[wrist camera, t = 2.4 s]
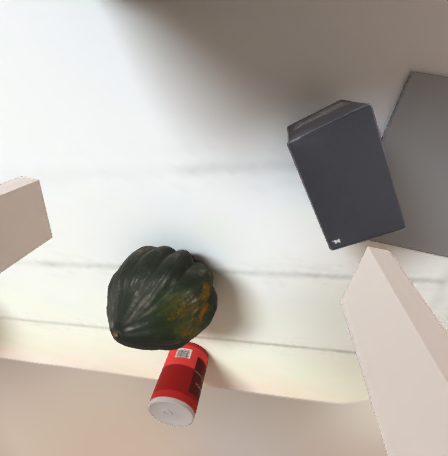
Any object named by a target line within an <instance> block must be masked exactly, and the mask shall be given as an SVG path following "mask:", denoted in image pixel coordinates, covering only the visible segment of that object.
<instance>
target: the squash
mask: <svg viewBox="0 0 448 456" xmlns="http://www.w3.org/2000/svg"><path fill="white" fill-rule="evenodd" d="M107 299H108V300H107V317H108V322H109V327H110V331H111V334H112V336H113V338H114V339H115V340H116V341H117V342H118V343H120V344H122V345H125V346H127V347H131V348H136V349H141V350H176V349H179V348H182V347H183V346H185V345H186V344H187V343H188V342H189V341H190V340H191V339H193V338H194V337H196V336H197V335H198V334H199V333H201V332H202V331H203V330H204V329H205V328H206V327H207V326H208V325H209V324H210V322H211V320H212V319H213V317H214V314H215V312H216V309H217V294H216V291H215V289H214V287H213V273H212V271H211V270H210V269H209V268H208V267H207V266H206V265H205V264H202V263H199V262H195V263H194V260H193V257H192V255H191V254H190V253H189V252H188V251H185V250H180V251H175V250H174V249H172V248H171V247H168V246H161V247H153V246H144V247H141V248H139V249H137V250H136V251H134V252H133V253H132V254H131V255H130V256H129V257H128V258H127V259H126V260H125V261H124V262H123V264H122V265H121V266H120V268H119V269H118V271H117V272H116V273H115V274H114V275H113V277H112V279H111V281H110V283H109V286H108V296H107Z"/></svg>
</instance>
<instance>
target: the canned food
mask: <svg viewBox="0 0 448 456" xmlns="http://www.w3.org/2000/svg"><path fill="white" fill-rule="evenodd" d="M207 363H208V355H207V353H206V351H205V350H204V349H203V348H202V347H201V346H199V345H197V344H194V343H191V342H188V343H187V344H186V345H185V346H183V347H182V348H179V349H176V350H170V352H169V354H168V357H167V359H166V362H165V364H164V367H163V369H162V372H161V374H160V377H159V379H158V382H157V384H156V387H155V389H154V392H153V395H152V397H151V400H150V402H149V406H148V411H149V412H150V414H151V415H152V416H153V417H154V418H155V419H157V420H158V421H160V422H162V423H165V424H168V425H172V426H187V425H190V424H191V423H192V422H193V420H194V417H195V413H196V410H197V406H198V401H199V397H200V393H201V389H202V384H203V380H204V376H205V372H206V368H207Z"/></svg>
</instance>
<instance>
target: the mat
mask: <svg viewBox="0 0 448 456" xmlns="http://www.w3.org/2000/svg"><path fill="white" fill-rule="evenodd" d="M381 140H382V144H383V147H384V151H385V155H386V158H387V162H388V165H389V169H390V172H391V176H392V179H393V183H394V186H395V190H396V193H397V197H398V200H399V204H400V207H401V211H402V214H403V218H404V221H405V225H406V228H405V229H403V230H400V231H397V232H393V233H390V234H387V235H383V236H380V237H377V238H373V239H370V240H371V241H375V242H380V243H385V244H389V245H394V246H399V247H404V248H408V249H413V250H418V251H422V252H427V253H432V254H437V255H441V256H446V257H448V77H444V76H438V75H432V74H426V73H420V72H411V74H410V76H409V78H408V80H407V83H406V85H405V87H404V90H403V92H402V94H401V96H400V99H399V101H398V103H397V105H396V108H395V110H394V112H393V114H392V117H391V119H390V121H389V123H388V126H387V128H386V130H385V132H384V135H383V137H382V139H381Z"/></svg>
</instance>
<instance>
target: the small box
mask: <svg viewBox="0 0 448 456" xmlns="http://www.w3.org/2000/svg"><path fill="white" fill-rule="evenodd" d="M287 131H288V142H287V146H288V148H289V151H290V153H291V156H292V158H293V161H294V163H295V166H296V168H297V170H298V173H299V175H300V178H301V180H302V183H303V185H304V187H305V190H306V192H307V195H308V197H309V200H310V202H311V205H312V207H313V209H314V212H315V214H316V217H317V219H318V222H319V224H320V227H321V229H322V232H323V234H324V236H325V239H326V241H327V243H328V246H329V248H330V250H336V249H339V248H343V247H346V246H349V245H353V244H356V243H359V242H363V241H366V240H370V239H373V238H377V237H380V236H383V235H387V234H390V233H393V232H397V231H400V230H403V229H405V228H406V225H405V221H404V218H403V214H402V211H401V207H400V204H399V200H398V197H397V193H396V190H395V186H394V183H393V179H392V176H391V172H390V169H389V165H388V162H387V158H386V155H385V151H384V147H383V144H382V140H381V137H380V133H379V129H378V126H377V122H376V118H375V115H374V111H373V108H372V105H371V104H364V103H357V102H351V101H345V100H340V101H338V102H336V103H334V104H332V105H330V106H328V107H326V108H324V109H322V110H320V111H318V112H316V113H314V114H312V115H310V116H308V117H306V118H304V119H302V120H300V121H298V122H296V123H294V124H292V125H290V126H288V127H287Z"/></svg>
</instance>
